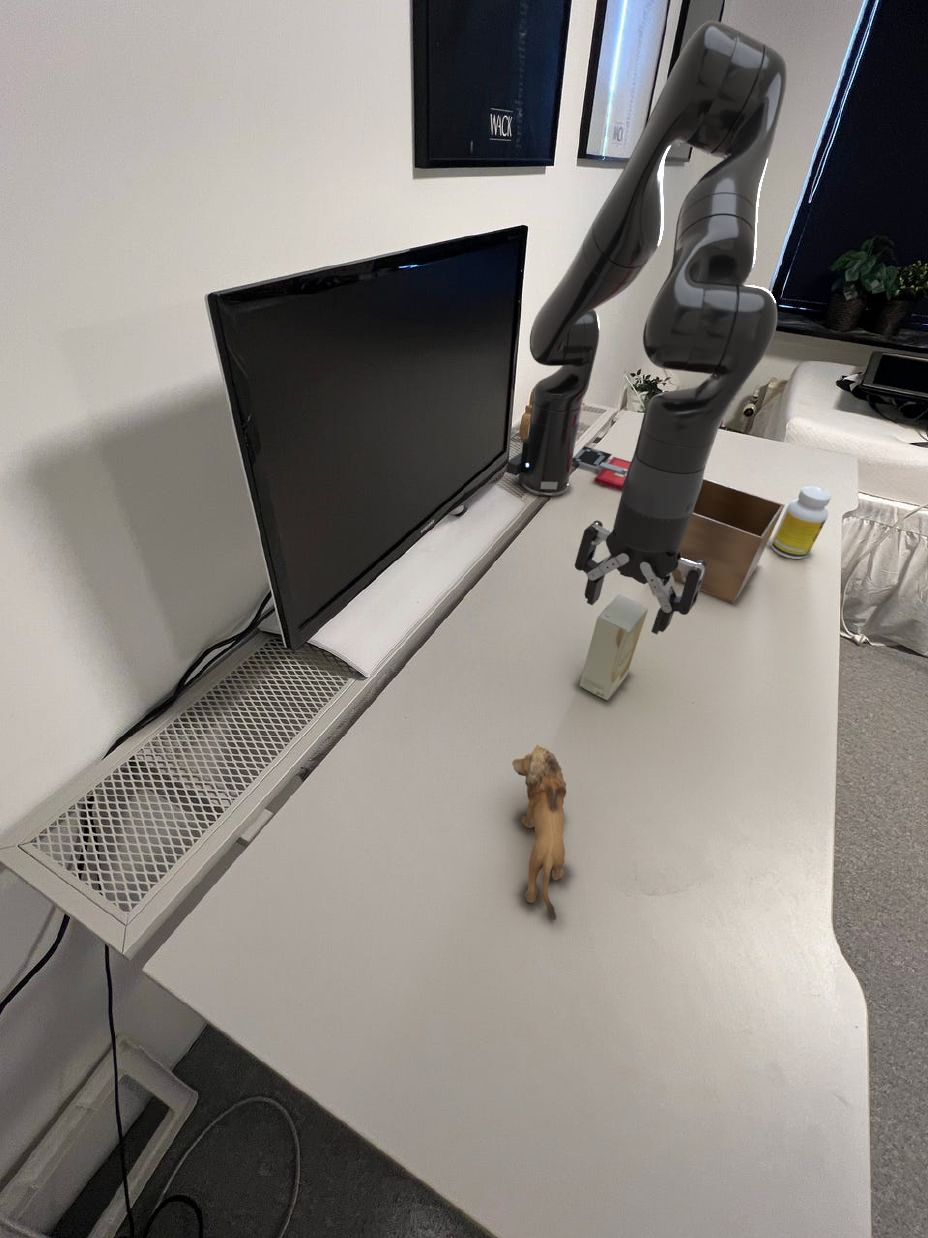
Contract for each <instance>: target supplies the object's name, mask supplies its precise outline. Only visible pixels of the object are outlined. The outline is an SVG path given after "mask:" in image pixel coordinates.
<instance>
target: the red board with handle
mask: <svg viewBox="0 0 928 1238" xmlns="http://www.w3.org/2000/svg"><path fill="white" fill-rule="evenodd" d="M612 455H613V454H612V453H609V452H606V451H602V450H599V449H595V448H592V447H588V446H587V445H586V446H583V447H582V448H581V449H580V450H579V451H578V452H577V453H576V454H575V455H573V459H572V463H576V464H579V465H581V466H586V467H589V468H593V469H596V470H597V474H596V476H595V477H594V480H593V481H594V483H597V484H600V485H603V486H606V487H610V488H613V489H616V490H619V491H622V486H623V482H624V480H625V478H626V474H627V471H628V468H629V465H630V463H631V461H629V460H626V459H622V458H619V457H617V456H613V457H612V458H611V456H612ZM610 458H611V459H610ZM609 459H610V460H609ZM608 460H609V462H608Z"/></svg>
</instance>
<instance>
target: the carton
mask: <svg viewBox="0 0 928 1238" xmlns="http://www.w3.org/2000/svg"><path fill="white" fill-rule="evenodd" d="M785 506H786V505H785V504H783V503H780V502H777V501H775V500H772V499H768V498H766V497H762V496H759V495H756V494H753V493H750V492H747V491H744V490H741V489H738V488H735V487H732V486H729V485H725V484H722V483H719V482H716V481H714V480H710V479H708V478H704V477H703V482H702V486H701V490H700V493H699V496H698V499H697V502H696V504H695V507H694V510H693V513H692V516H691V519H690V522H689V525H688V528H687V531H686V534H685V537H684V540H683V542H682V545H681V549H680V554H681V558H682V559H685V560H688V561H691V562H694V563H696V562H697V561H698V560H704V561H705V562H706V563H707V567H706V571H705V574H704V577H703V581H702V584H701V587H700V590H699V591H701V592H703V593H706V594H707V595H710V596H713V597H716V598H718V599H720V600H723V601H725V602H728V603H730V604H732V605H734V604H735V602H736V600H737V599H738V597H739V596H740V594H741V592H742V591H743V589H744V588H745V586H746V585H747V583H748V581H749V580H750V578H751V576H752V575H753V573H754V571H756V568H757V567H758V564H759V562H760V561H761V558H762V556H763V554H764V551H765V549H766V547H767V546H768V542H769V540H770V538H771V536H772V534H773V532H774V530H775V527H776V526H777V523H778V521H779V519H780V516H781V515H782V512H783V510H784V509H785ZM671 573H672V575H673V578H674V581H675V582H676V581H677V582H678V583H681V584H684V585H685V582H683V581H682V578H681V572H680V571H679V570H678V569H676V570H674V571H673V572H671Z"/></svg>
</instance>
